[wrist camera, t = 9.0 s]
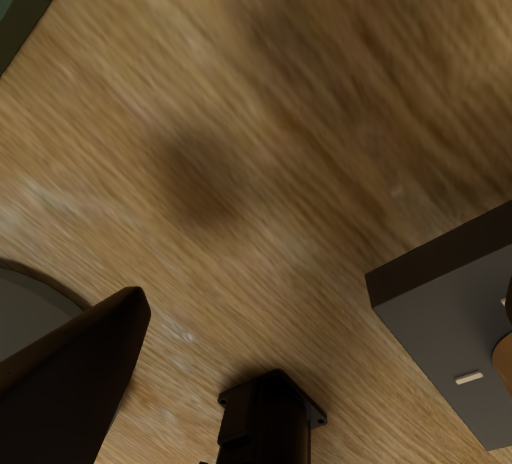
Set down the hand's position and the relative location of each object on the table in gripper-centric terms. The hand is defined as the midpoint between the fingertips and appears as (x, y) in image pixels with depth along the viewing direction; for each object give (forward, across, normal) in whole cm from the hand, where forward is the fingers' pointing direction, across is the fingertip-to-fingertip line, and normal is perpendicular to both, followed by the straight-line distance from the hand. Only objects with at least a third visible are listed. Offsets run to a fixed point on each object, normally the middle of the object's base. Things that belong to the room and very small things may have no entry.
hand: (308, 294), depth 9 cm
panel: (+11, -11, +10) cm, 18 cm away
